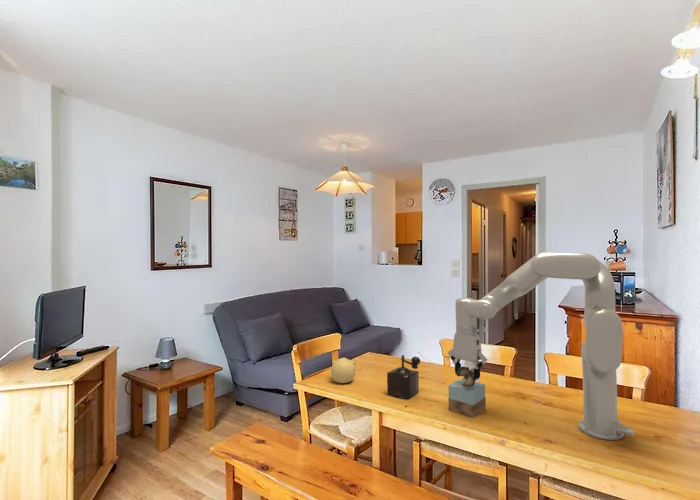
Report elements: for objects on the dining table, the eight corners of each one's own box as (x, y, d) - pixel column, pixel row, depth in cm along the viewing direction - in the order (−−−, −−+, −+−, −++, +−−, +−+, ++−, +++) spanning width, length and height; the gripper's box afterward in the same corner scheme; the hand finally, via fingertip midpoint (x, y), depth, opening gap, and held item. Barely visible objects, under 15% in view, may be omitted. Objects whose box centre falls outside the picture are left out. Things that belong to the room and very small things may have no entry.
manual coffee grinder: (385, 395, 163) (384, 353, 163) (398, 387, 172) (397, 347, 172) (418, 403, 153) (417, 358, 153) (430, 394, 162) (429, 352, 162)
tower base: (485, 410, 146) (485, 397, 146) (472, 418, 139) (472, 405, 139) (462, 403, 153) (462, 390, 153) (448, 410, 146) (448, 397, 146)
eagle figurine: (454, 374, 150) (451, 377, 142) (465, 360, 149) (462, 362, 141) (471, 387, 147) (469, 391, 138) (482, 373, 146) (480, 375, 138)
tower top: (485, 397, 146) (484, 384, 146) (473, 405, 139) (473, 391, 139) (461, 391, 153) (460, 378, 153) (448, 398, 146) (448, 385, 146)
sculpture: (356, 377, 187) (356, 355, 187) (353, 385, 175) (352, 362, 175) (333, 376, 188) (333, 354, 188) (329, 385, 176) (328, 361, 177)
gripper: (492, 331, 142) (493, 379, 142) (452, 326, 155) (453, 369, 155) (482, 335, 137) (483, 384, 137) (441, 328, 150) (442, 373, 150)
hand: (467, 375), depth 146 cm, fingers closed on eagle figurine, 7 cm apart
